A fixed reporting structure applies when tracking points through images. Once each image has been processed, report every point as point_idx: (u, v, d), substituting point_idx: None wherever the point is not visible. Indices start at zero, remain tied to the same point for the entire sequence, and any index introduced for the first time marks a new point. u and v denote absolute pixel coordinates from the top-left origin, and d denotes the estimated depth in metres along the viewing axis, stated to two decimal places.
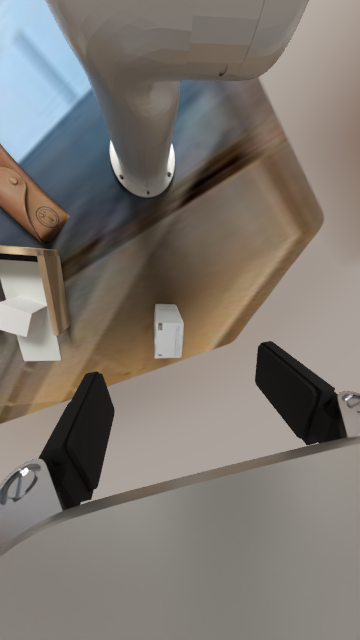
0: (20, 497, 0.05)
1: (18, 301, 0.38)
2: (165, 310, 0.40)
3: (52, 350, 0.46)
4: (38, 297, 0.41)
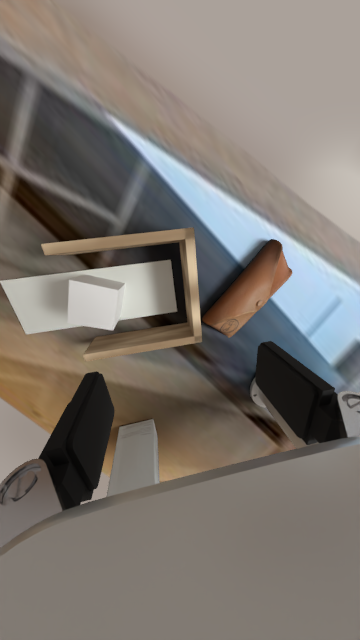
0: (20, 497, 0.05)
1: (121, 295, 0.26)
2: (156, 456, 0.35)
3: (42, 322, 0.29)
4: (129, 306, 0.30)
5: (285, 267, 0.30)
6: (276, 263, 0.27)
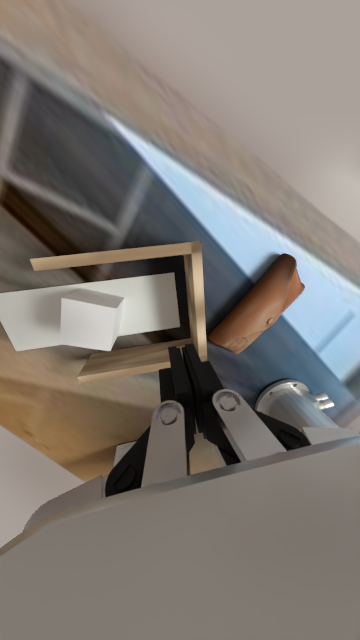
0: (165, 422, 0.06)
1: (119, 312, 0.24)
2: None
3: (34, 338, 0.26)
4: (128, 322, 0.28)
5: (298, 283, 0.28)
6: (289, 280, 0.25)
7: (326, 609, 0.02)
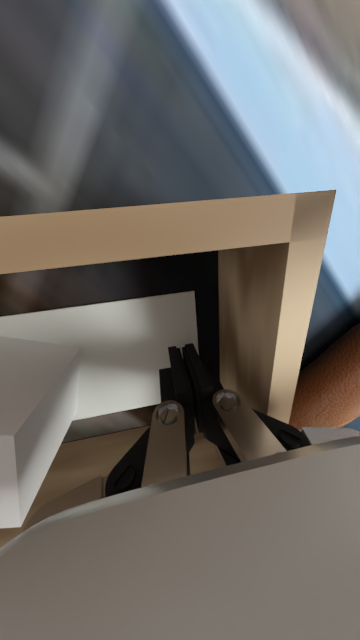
0: (165, 422, 0.06)
1: (60, 395, 0.09)
2: None
3: None
4: (94, 394, 0.13)
5: None
6: None
7: (326, 609, 0.02)
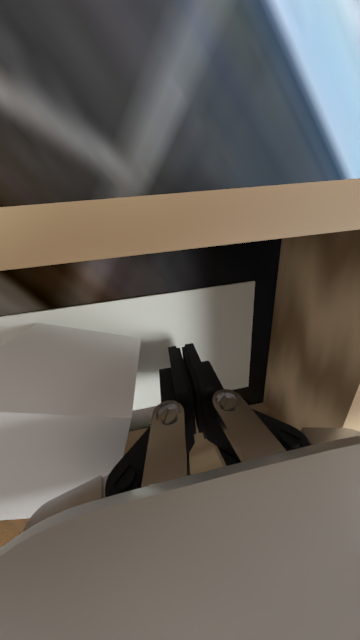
0: (165, 423, 0.06)
1: None
2: None
3: None
4: (148, 385, 0.13)
5: None
6: None
7: (326, 609, 0.02)
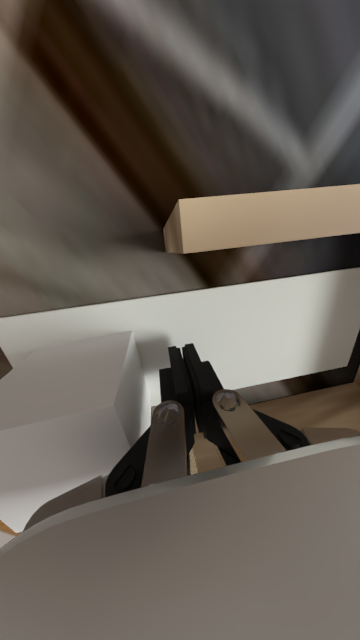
0: (165, 422, 0.06)
1: (134, 375, 0.09)
2: None
3: None
4: (266, 362, 0.14)
5: None
6: None
7: (326, 609, 0.02)
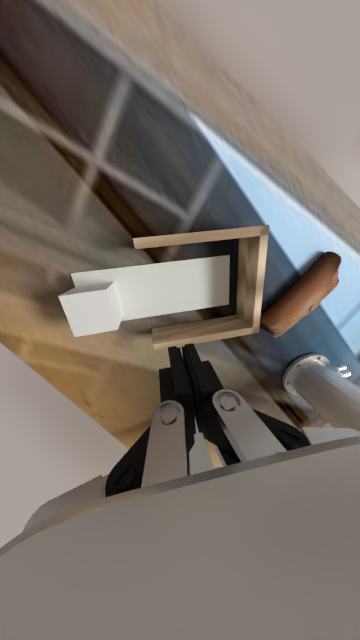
0: (165, 422, 0.06)
1: (113, 294, 0.26)
2: None
3: None
4: (186, 299, 0.31)
5: (337, 277, 0.33)
6: (334, 273, 0.31)
7: (326, 609, 0.02)
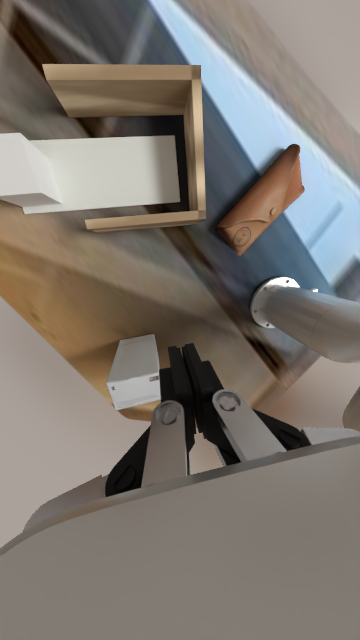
0: (165, 423, 0.06)
1: (41, 162, 0.24)
2: None
3: None
4: (131, 190, 0.29)
5: (299, 178, 0.31)
6: (293, 164, 0.28)
7: (326, 609, 0.02)
